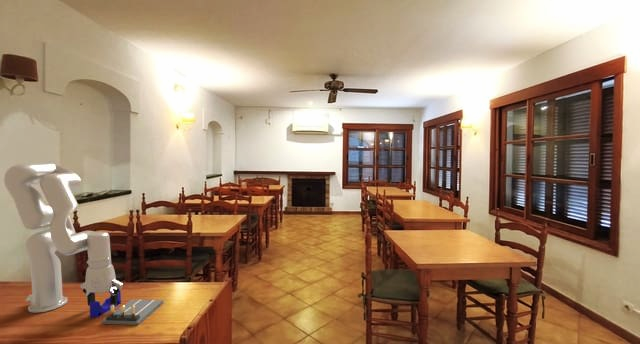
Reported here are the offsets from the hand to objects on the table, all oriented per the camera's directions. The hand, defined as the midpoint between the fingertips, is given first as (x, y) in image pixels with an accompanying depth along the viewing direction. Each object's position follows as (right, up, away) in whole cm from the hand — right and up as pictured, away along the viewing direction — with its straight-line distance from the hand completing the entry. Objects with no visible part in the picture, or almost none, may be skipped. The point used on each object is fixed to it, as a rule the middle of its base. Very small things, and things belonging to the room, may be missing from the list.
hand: (103, 304), depth 130 cm
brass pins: (+14, -2, -9) cm, 17 cm away
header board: (+14, -3, -2) cm, 15 cm away
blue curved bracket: (0, -3, 0) cm, 3 cm away
